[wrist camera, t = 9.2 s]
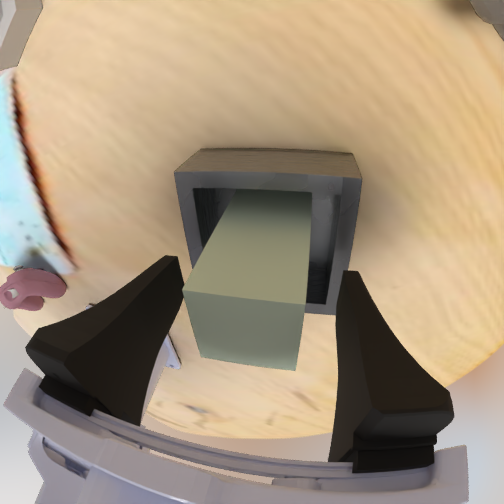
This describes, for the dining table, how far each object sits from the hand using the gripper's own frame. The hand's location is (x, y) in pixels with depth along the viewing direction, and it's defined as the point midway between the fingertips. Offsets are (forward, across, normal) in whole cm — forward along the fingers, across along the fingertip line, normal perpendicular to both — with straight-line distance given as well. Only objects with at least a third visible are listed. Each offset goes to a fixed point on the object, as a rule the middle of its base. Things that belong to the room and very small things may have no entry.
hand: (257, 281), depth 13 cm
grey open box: (+6, 0, 0) cm, 6 cm away
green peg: (+5, 0, 0) cm, 5 cm away
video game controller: (+6, +27, +9) cm, 29 cm away
